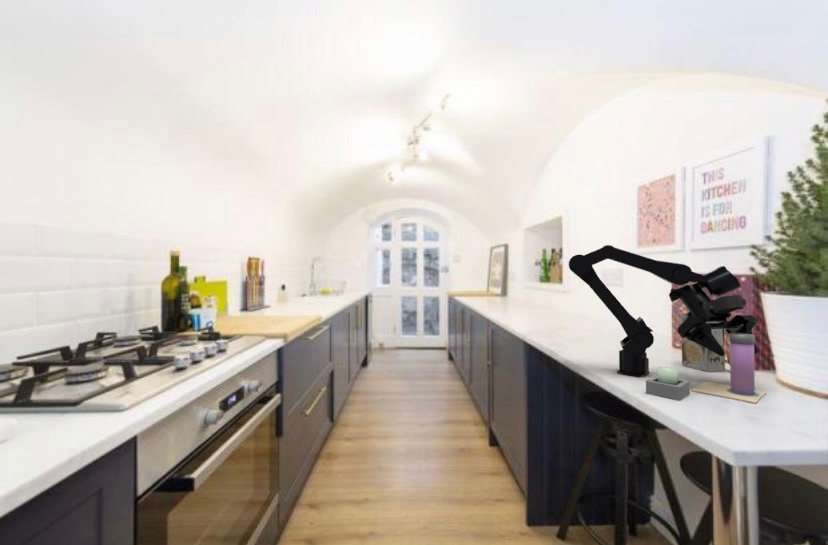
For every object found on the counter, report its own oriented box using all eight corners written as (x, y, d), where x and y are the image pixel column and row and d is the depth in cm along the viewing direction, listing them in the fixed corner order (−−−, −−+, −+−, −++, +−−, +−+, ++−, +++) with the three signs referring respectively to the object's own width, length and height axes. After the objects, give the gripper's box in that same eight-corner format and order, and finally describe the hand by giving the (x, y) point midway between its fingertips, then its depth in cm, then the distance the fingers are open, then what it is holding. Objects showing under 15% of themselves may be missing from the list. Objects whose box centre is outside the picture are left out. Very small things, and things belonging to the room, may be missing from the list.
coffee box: (726, 370, 113) (726, 315, 113) (709, 372, 111) (708, 316, 111) (696, 363, 122) (696, 312, 122) (680, 365, 120) (680, 313, 120)
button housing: (645, 393, 94) (645, 380, 94) (657, 387, 98) (657, 375, 98) (679, 400, 88) (679, 387, 88) (689, 394, 93) (689, 381, 93)
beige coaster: (691, 391, 95) (691, 389, 95) (705, 382, 102) (705, 381, 102) (755, 403, 86) (755, 402, 86) (766, 393, 92) (766, 392, 92)
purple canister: (727, 392, 93) (727, 334, 93) (732, 388, 96) (732, 332, 95) (752, 396, 89) (752, 337, 89) (757, 392, 92) (756, 334, 92)
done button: (655, 385, 93) (655, 368, 93) (661, 381, 96) (661, 365, 96) (674, 388, 90) (674, 371, 90) (680, 385, 93) (680, 368, 93)
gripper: (686, 284, 96) (729, 336, 86) (750, 283, 99) (799, 332, 88) (661, 312, 104) (698, 363, 93) (721, 310, 107) (763, 359, 96)
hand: (740, 354), depth 93 cm, fingers open, 9 cm apart
